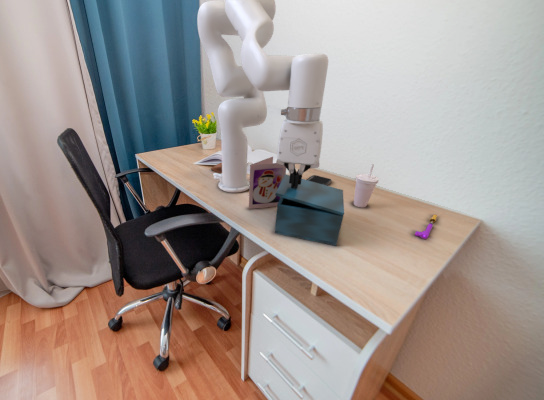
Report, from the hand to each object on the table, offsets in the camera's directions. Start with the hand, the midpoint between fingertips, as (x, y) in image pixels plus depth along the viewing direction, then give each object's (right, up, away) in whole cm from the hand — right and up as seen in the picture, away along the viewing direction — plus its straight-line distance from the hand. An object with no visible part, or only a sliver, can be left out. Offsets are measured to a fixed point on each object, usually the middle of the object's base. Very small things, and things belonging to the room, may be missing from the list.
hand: (294, 186), depth 65 cm
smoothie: (+26, -6, +14) cm, 30 cm away
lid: (+4, -2, -1) cm, 5 cm away
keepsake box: (+5, -11, +4) cm, 13 cm away
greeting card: (-6, -5, +17) cm, 18 cm away
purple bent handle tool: (+38, -11, +3) cm, 39 cm away
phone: (+16, +2, +28) cm, 33 cm away
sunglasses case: (-17, +12, +49) cm, 53 cm away
